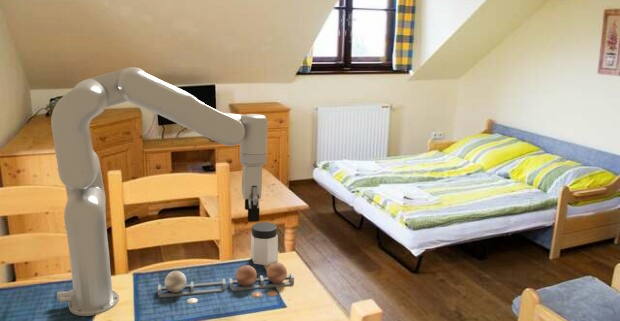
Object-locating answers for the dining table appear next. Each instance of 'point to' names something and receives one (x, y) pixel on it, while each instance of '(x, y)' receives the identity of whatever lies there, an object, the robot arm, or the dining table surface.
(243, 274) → the terracotta ball
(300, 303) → the dining table surface
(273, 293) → the tiles
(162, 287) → the grey ball rail
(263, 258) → the jar
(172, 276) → the cream ball
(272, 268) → the terracotta ball
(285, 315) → the dining table surface
